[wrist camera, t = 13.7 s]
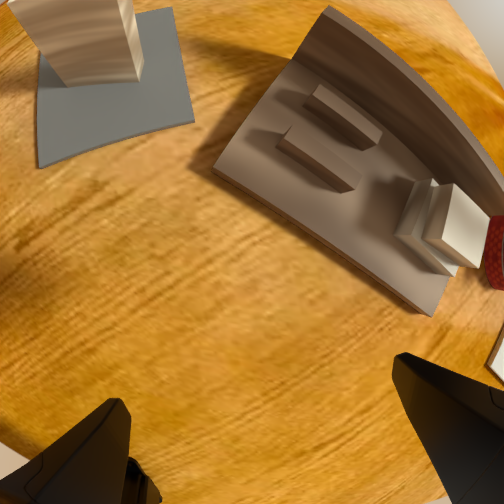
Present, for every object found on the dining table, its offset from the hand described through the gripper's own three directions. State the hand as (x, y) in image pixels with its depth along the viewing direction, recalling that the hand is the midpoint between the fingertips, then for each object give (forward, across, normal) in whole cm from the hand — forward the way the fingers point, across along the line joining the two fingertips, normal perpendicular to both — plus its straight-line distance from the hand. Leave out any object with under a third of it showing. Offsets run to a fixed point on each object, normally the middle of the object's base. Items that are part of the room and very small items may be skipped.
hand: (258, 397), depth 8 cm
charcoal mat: (+14, +8, -16) cm, 23 cm away
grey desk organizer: (+15, -10, -4) cm, 19 cm away
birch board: (+14, +8, -16) cm, 23 cm away
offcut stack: (+14, -16, 0) cm, 21 cm away
